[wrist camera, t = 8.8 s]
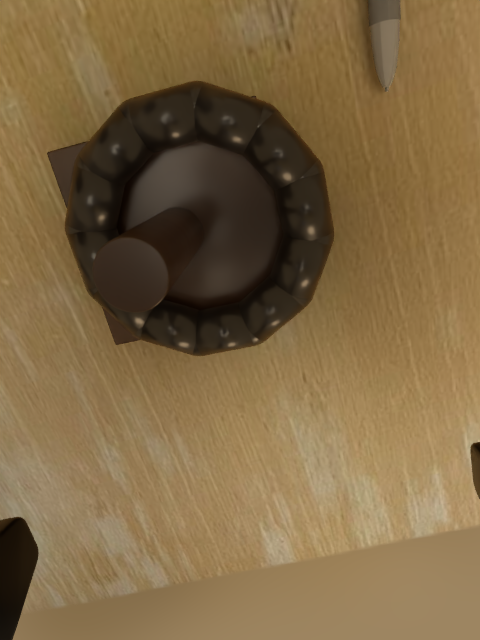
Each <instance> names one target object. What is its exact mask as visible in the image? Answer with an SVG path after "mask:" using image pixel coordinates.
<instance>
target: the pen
mask: <svg viewBox="0 0 480 640" xmlns="http://www.w3.org/2000/svg"><path fill="white" fill-rule="evenodd" d="M368 12H369V26H370V32H371V45H372V50H373V57H374V63H375V68H376V72H377V75H378V78H379V81H380V83H381V85H382V87H385V92H387V91H389V86H391V85H392V82H393V79H394V76H395V72H396V68H397V60H398V49H399V32H400V19H401V17H400V0H368Z"/></svg>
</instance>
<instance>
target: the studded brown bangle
mask: <svg viewBox="0 0 480 640" xmlns="http://www.w3.org/2000/svg"><path fill="white" fill-rule="evenodd" d="M196 141H200V142H204V143H207V144H210V145H213V146H216V147H219V148H222V149H225V150H229V151H232V152H235V153H238V154H241V155H243V156H244V157H245V158H246V159H247V160H248V161H249V162H250V163H251V165H252V166H253V167H254V168H255V169H256V170H257V171H258V172H259V174H260V175H261V176H262V177H263V178H264V179H265V180H266V182H267V183H268V184H269V185H270V186H271V187H272V188H273V189H274V191H275V196H276V201H277V206H278V211H279V216H280V220H281V225H282V230H283V238H282V241H281V244H280V247H279V250H278V253H277V256H276V259H275V262H274V265H273V268H272V271H271V274H270V276H269V277H267V278H266V279H265V280H264V281H263V282H262V283H261V284H259V285H258V286H257V287H256V288H255V289H254V290H253V291H252V292H250V293H249V294H248V295H247V296H246V297H245V298H244V299H242V300H241V301H240V302H237V303H232V304H228V305H223V306H218V307H213V308H209V309H204V310H198V309H194V308H191V307H188V306H184V305H181V304H178V303H174V302H171V301H168V300H164V299H163V300H162V301H161V302H160V303H159V304H158V305H157V306H155V307H154V308H152V309H150V310H147V311H144V312H126V311H123V310H120V309H117V308H115V307H114V306H112V305H111V304H109V303H108V302H107V301H106V300H105V299H104V298H103V297H102V296H101V294H100V293H99V291H98V290H97V288H96V285H95V283H94V279H93V263H94V259H95V257H96V254H97V253H98V251H99V250H100V249H101V247H102V246H103V245H104V244H106V243H107V242H109V241H110V240H112V239H114V238H116V237H118V236H119V233H118V230H117V223H118V218H119V213H120V208H121V203H122V198H123V193H124V188H125V184H126V183H127V182H128V181H129V180H130V179H131V178H132V177H133V175H134V174H135V173H136V172H137V171H138V170H139V169H140V168H141V167H142V166H143V165H144V163H145V162H146V161H147V160H148V159H149V158H150V157H151V156H152V155H153V154H154V153H155V152H158V151H161V150H165V149H169V148H173V147H177V146H181V145H184V144H188V143H192V142H196ZM65 231H66V235H67V238H68V240H69V243H70V246H71V249H72V251H73V254H74V257H75V260H76V262H77V265H78V268H79V271H80V273H81V276H82V279H83V282H84V284H85V287H86V289H87V291H88V293H89V294H90V296H91V297H92V298H93V299H94V300H95V301H97V302H98V303H99V304H100V305H101V306H102V307H103V308H104V309H105V310H106V311H107V312H108V313H109V314H110V315H112V316H113V317H114V318H115V319H116V320H117V321H118V322H119V323H120V324H121V325H122V326H123V327H124V328H125V329H127V330H128V331H129V332H130V333H131V334H132V335H133V336H134V337H136V338H138V339H140V340H143V341H146V342H150V343H153V344H156V345H160V346H163V347H166V348H170V349H173V350H177V351H180V352H183V353H187V354H190V355H194V356H205V355H210V354H215V353H220V352H225V351H230V350H236V349H241V348H246V347H251V346H256V345H259V344H261V343H263V342H264V341H265V340H267V339H268V338H269V337H270V336H271V335H273V334H274V333H275V332H276V331H277V330H279V329H280V328H281V327H282V326H283V325H285V324H286V323H287V322H288V321H289V320H291V319H292V318H293V317H294V316H295V315H297V314H298V313H299V312H300V311H301V310H303V309H304V308H305V307H306V306H307V305H308V304H309V303H310V301H311V300H312V298H313V295H314V293H315V290H316V287H317V285H318V282H319V279H320V277H321V274H322V271H323V269H324V266H325V263H326V261H327V258H328V255H329V253H330V250H331V247H332V245H333V242H334V227H333V221H332V215H331V209H330V203H329V197H328V191H327V185H326V179H325V173H324V169H323V166H322V164H321V162H320V160H319V159H318V158H317V156H316V155H315V154H314V153H313V152H312V150H311V149H310V148H309V147H308V146H307V144H306V143H305V142H304V141H303V140H302V139H301V137H300V136H299V135H298V134H297V133H296V131H295V130H294V129H293V128H292V127H291V125H290V124H289V123H288V122H287V121H286V119H285V118H284V117H283V116H282V115H281V114H280V112H279V111H278V110H277V109H276V108H275V107H274V106H272V105H271V104H269V103H267V102H265V101H261V100H258V99H255V98H252V97H249V96H246V95H243V94H240V93H237V92H234V91H231V90H228V89H225V88H221V87H218V86H215V85H212V84H209V83H206V82H202V81H192V82H188V83H184V84H181V85H177V86H174V87H170V88H166V89H163V90H159V91H156V92H152V93H149V94H145V95H141V96H138V97H134V98H131V99H128V100H126V101H124V102H123V103H121V105H119V106H118V108H117V109H116V110H115V111H114V112H113V113H112V115H111V116H110V117H109V118H108V119H107V120H106V122H105V123H104V124H103V125H102V126H101V127H100V129H99V130H98V131H97V132H96V133H95V135H94V136H93V137H92V138H91V139H90V140H89V142H88V143H87V144H86V145H85V146H84V147H83V149H82V150H81V151H80V152H79V154H78V155H77V157H76V159H75V162H74V168H73V174H72V181H71V187H70V194H69V200H68V206H67V213H66V219H65Z"/></svg>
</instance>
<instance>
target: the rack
mask: <svg viewBox="0 0 480 640" xmlns="http://www.w3.org/2000/svg"><path fill="white" fill-rule="evenodd" d="M252 98H255V99H256V96H252ZM88 142H89V141H87V142H83V143H80V144H76V145H72V146H69V147H65V148H61V149H58V150H54V151H50V152H48V153H47V154H48V157H49V160H50V163H51V166H52V168H53V171H54V174H55V177H56V180H57V182H58V185H59V188H60V191H61V194H62V196H63V199H64V202H65V205H66V207H67V206H68V200H69V194H70V187H71V181H72V174H73V168H74V162H75V159H76V157H77V155H78V154H79V152H80V151H81V150H82V149H83V147H84V146H85V145H86V144H87V143H88ZM117 230H118V233H119V236H118V237H116V238H114V239H112V240H110V241H109V242H107V243H106V244H104V245H103V246H102V247H101V249H100V250H99V251H98V253H97V254H96V257H95V259H94V263H93V279H94V283H95V285H96V288H97V290H98V291H99V293H100V294H101V296H102V297H103V298H104V299H105V300H106V301H107V302H108V303H109V304H111V305H112V306H114V307H115V308H117V309H120V310H123V311H126V312H144V311H147V310H150V309H152V308H154V307H155V306H157V305H158V304H159V303H160V302H161V301H162V300H163V299H164V300H168V301H171V302H174V303H178V304H181V305H184V306H188V307H191V308H194V309H198V310H204V309H209V308H213V307H218V306H223V305H228V304H232V303H237V302H240V301H241V300H242V299H244V298H245V297H246V296H247V295H248V294H249V293H250V292H252V291H253V290H254V289H255V288H256V287H257V286H258V285H259V284H261V283H262V282H263V281H264V280H265V279H266V278H267V277H269V276H270V274H271V271H272V268H273V265H274V262H275V259H276V256H277V253H278V250H279V247H280V244H281V241H282V238H283V230H282V225H281V220H280V216H279V211H278V206H277V201H276V196H275V191H274V189H273V188H272V187H271V186H270V185H269V184H268V183H267V182H266V180H265V179H264V178H263V177H262V176H261V175H260V174H259V172H258V171H257V170H256V169H255V168H254V167H253V166H252V165H251V163H250V162H249V161H248V160H247V159H246V158H245V157H244V156H243V155H241V154H238V153H235V152H232V151H229V150H225V149H222V148H219V147H216V146H213V145H210V144H207V143H204V142H200V141H196V142H192V143H188V144H184V145H181V146H177V147H173V148H169V149H165V150H161V151H158V152H155V153H154V154H153V155H152V156H151V157H150V158H149V159H148V160H147V161H146V162H145V163H144V165H143V166H142V167H141V168H140V169H139V170H138V171H137V172H136V173H135V174H134V175H133V177H132V178H131V179H130V180H129V181H128V182H127V183H126V184H125V188H124V193H123V198H122V203H121V208H120V213H119V218H118V223H117ZM102 308H103V307H102ZM103 311H104V314H105V316H106V319H107V322H108V325H109V327H110V330H111V333H112V336H113V339H114V341H115V344H116V345H119V344H123V343H128V342H133V341H138V340H140V339H138V338H136V337H134V336H133V335H132V334H131V333H130V332H129V331H128V330H127V329H125V328H124V327H123V326H122V325H121V324H120V323H119V322H118V321H117V320H116V319H115V318H114V317H113V316H112V315H110V314H109V313H108V312H107V311H106V310H105V309H104V308H103Z"/></svg>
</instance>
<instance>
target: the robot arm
mask: <svg viewBox="0 0 480 640" xmlns="http://www.w3.org/2000/svg"><path fill="white" fill-rule="evenodd" d="M471 462H472V473H473V482H474V486H475V490H476V492H477V495H478V497H479V499H480V442H477V443H473V444H472V446H471ZM37 560H38V546H37V544H36V542H35V540H34V537H33V535H32V533H31V531H30V529H29V527H28V525H27V523H26V521H25V520H24V519H23V518H21V517H14V518H8V519H3V520H0V640H12V639H13V636H14V633H15V630H16V627H17V624H18V621H19V618H20V615H21V612H22V608H23V605H24V602H25V599H26V596H27V592H28V589H29V586H30V583H31V580H32V576H33V573H34V570H35V567H36V564H37Z"/></svg>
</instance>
